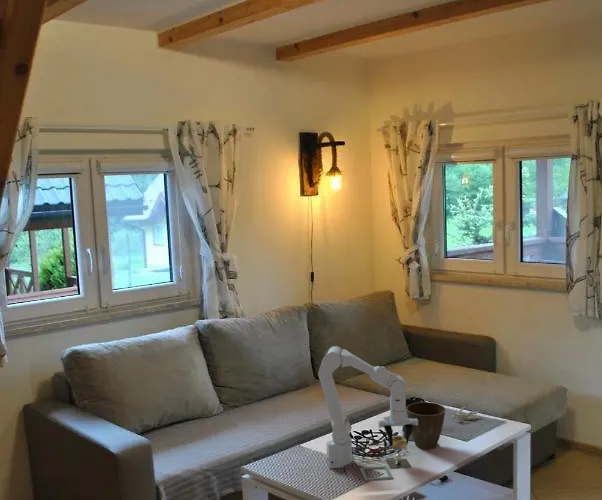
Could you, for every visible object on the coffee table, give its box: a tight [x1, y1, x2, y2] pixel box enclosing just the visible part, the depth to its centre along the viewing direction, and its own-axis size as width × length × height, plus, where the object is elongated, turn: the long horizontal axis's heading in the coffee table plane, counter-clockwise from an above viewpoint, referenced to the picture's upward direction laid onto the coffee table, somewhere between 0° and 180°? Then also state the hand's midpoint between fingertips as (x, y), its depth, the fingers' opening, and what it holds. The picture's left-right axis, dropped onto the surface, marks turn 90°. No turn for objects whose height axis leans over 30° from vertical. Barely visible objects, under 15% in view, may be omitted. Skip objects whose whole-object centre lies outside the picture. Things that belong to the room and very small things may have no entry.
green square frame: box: [359, 465, 394, 482], centre depth 255 cm, size 10×10×2 cm
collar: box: [391, 434, 408, 450], centre depth 262 cm, size 5×5×3 cm
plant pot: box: [406, 401, 446, 450], centre depth 278 cm, size 15×15×16 cm
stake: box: [385, 453, 413, 470], centre depth 262 cm, size 8×8×4 cm
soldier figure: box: [452, 406, 481, 424], centre depth 307 cm, size 8×5×12 cm
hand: (398, 444), depth 262 cm, fingers closed on collar, 5 cm apart
